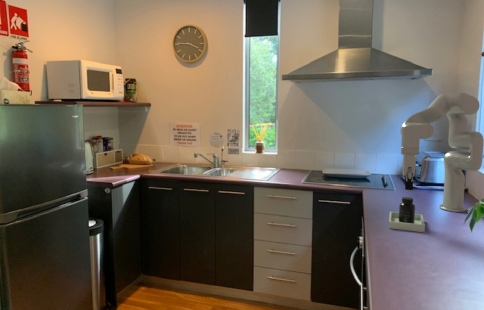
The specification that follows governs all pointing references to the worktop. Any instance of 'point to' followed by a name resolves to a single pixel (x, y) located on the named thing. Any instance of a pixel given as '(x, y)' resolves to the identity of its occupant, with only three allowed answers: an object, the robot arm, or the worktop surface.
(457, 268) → the worktop surface
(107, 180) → the worktop surface
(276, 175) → the worktop surface
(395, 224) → the tray
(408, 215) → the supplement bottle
